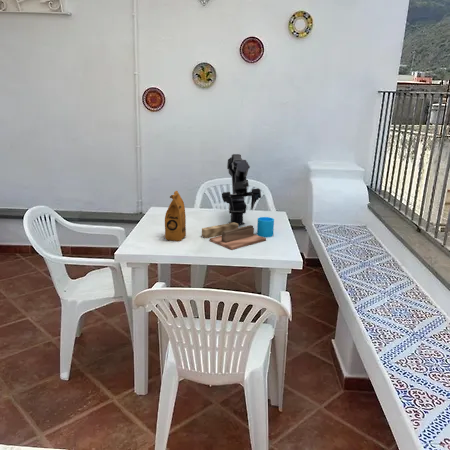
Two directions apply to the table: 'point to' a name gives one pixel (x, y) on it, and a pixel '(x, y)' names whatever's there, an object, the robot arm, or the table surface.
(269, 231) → the mug
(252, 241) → the fulcrum stand
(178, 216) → the coffee package
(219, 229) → the oak bar
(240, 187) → the robot arm
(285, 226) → the table surface
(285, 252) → the table surface
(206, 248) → the table surface
